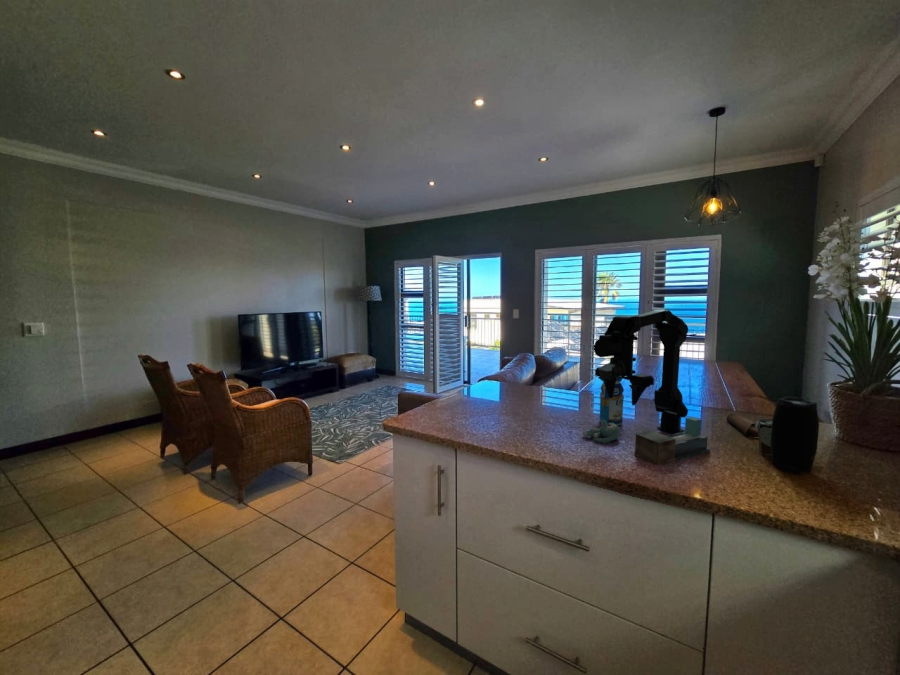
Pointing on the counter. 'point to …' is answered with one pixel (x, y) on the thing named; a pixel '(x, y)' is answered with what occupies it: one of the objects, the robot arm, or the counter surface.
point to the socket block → (655, 447)
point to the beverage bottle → (612, 404)
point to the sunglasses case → (743, 425)
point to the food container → (764, 435)
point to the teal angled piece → (690, 430)
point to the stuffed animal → (604, 432)
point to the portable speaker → (794, 434)
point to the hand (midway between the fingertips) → (621, 401)
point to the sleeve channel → (690, 447)
